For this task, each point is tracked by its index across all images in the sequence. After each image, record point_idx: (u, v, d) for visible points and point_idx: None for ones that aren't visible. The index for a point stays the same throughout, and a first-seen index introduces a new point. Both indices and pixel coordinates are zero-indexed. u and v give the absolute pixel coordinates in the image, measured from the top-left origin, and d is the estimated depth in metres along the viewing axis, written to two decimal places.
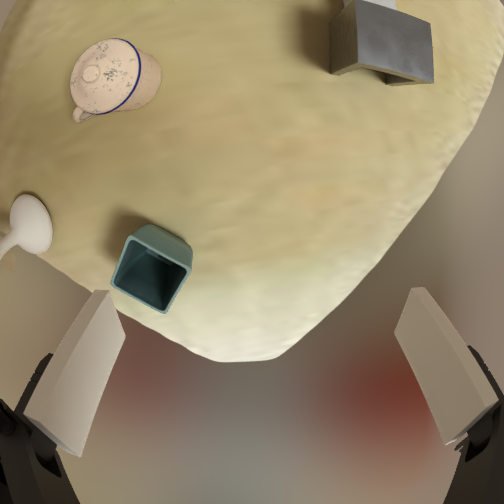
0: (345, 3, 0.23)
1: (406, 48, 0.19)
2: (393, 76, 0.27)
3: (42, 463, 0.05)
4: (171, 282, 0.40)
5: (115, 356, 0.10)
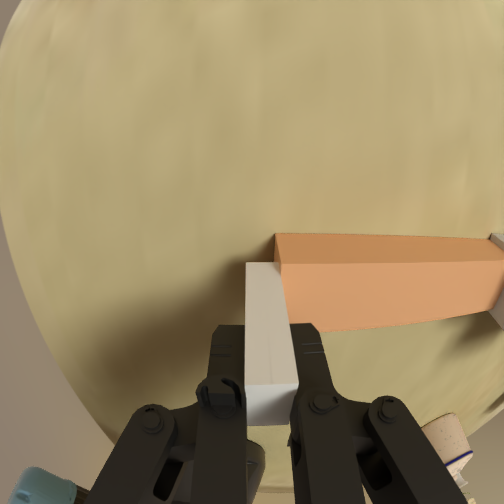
0: None
1: None
2: None
3: None
4: None
5: None
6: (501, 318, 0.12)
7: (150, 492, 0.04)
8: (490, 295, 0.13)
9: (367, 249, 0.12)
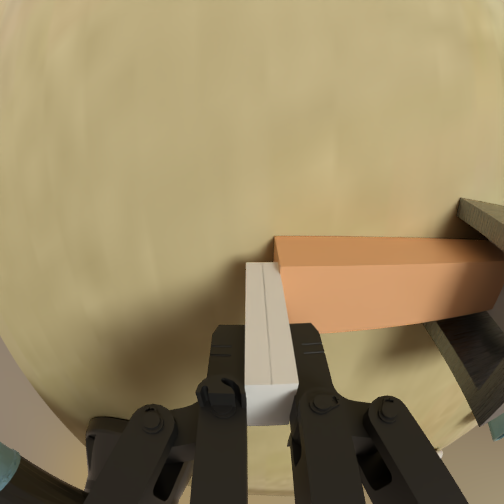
0: None
1: None
2: None
3: None
4: None
5: None
6: (500, 318, 0.13)
7: (150, 493, 0.04)
8: (488, 296, 0.13)
9: (365, 251, 0.13)
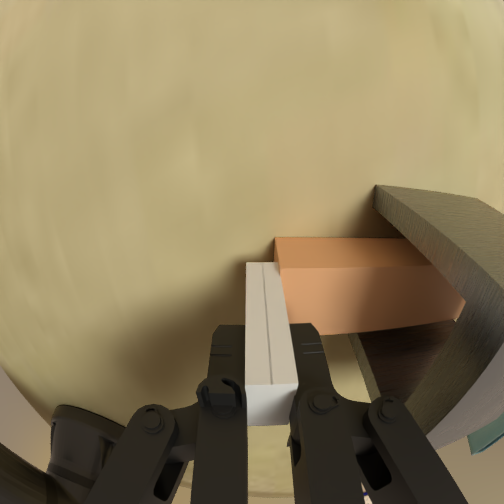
0: None
1: None
2: None
3: None
4: None
5: None
6: None
7: (150, 493, 0.04)
8: None
9: (366, 253, 0.13)
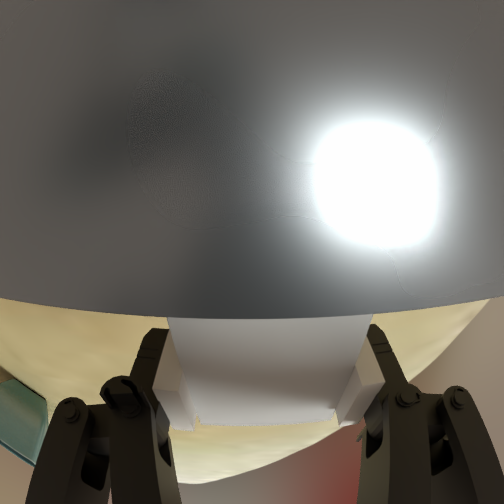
0: None
1: None
2: None
3: None
4: None
5: None
6: None
7: (78, 478, 0.04)
8: None
9: None
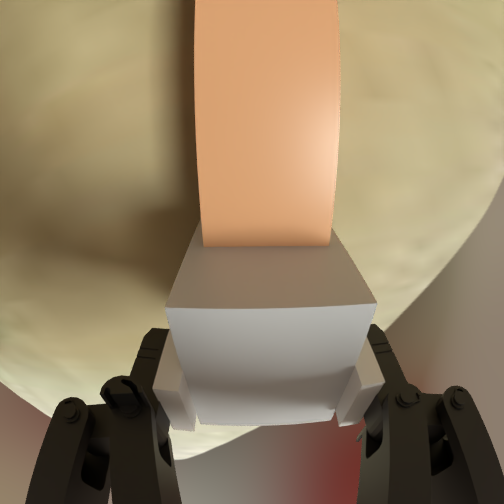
0: None
1: None
2: None
3: None
4: None
5: None
6: (198, 265, 0.08)
7: (78, 478, 0.04)
8: (244, 202, 0.08)
9: None
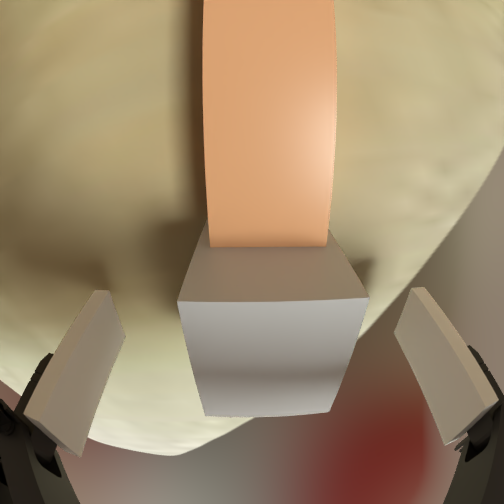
0: None
1: None
2: None
3: (42, 463, 0.05)
4: None
5: (115, 356, 0.10)
6: (205, 263, 0.08)
7: None
8: (248, 206, 0.09)
9: None
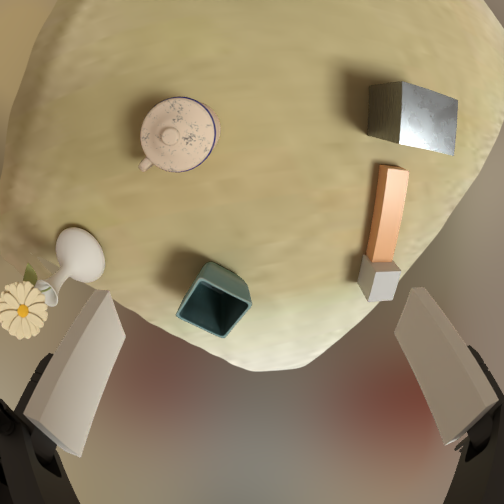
0: (363, 263, 0.46)
1: (436, 127, 0.26)
2: None
3: (42, 463, 0.05)
4: (224, 309, 0.47)
5: (115, 356, 0.10)
6: (374, 265, 0.43)
7: None
8: (380, 254, 0.43)
9: None
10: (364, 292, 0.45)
